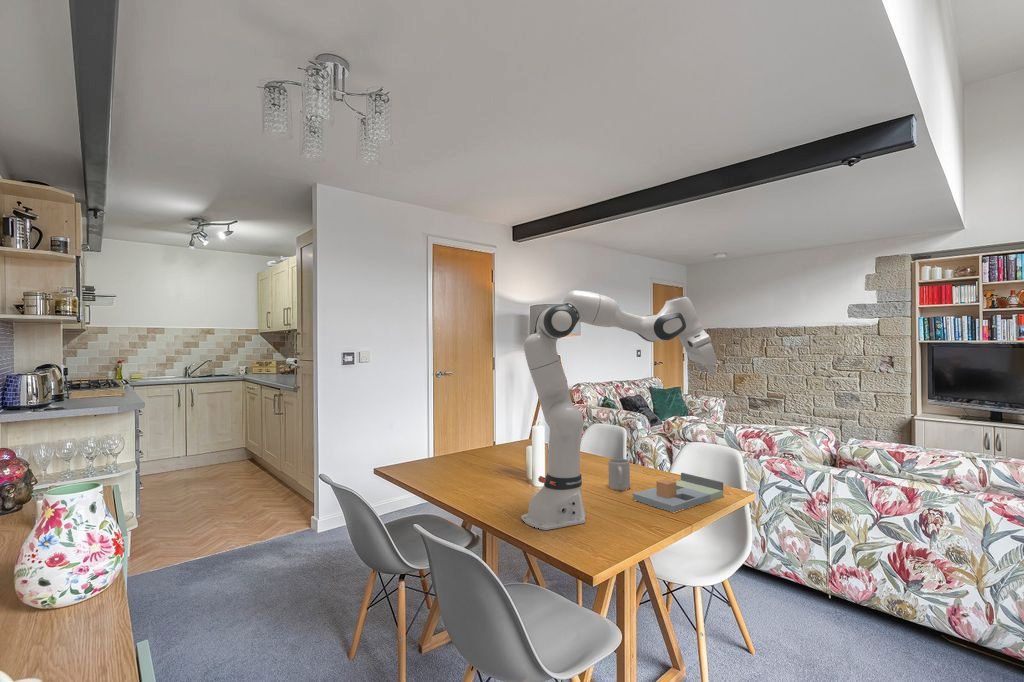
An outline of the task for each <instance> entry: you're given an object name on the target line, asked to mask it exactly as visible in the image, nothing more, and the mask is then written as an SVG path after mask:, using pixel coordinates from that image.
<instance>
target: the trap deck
mask: <svg viewBox="0 0 1024 682" xmlns="http://www.w3.org/2000/svg"><path fill="white" fill-rule="evenodd" d="M675 482H676V494H677V496H674V497H671V498H665V497H662V496H658V495H657V492H656V486H655V487H652V488H648V489H644V490H640V491H637V492H633V493H632V501H634V500H636V501H635V502H637V501H639V502H638V503H640V502H642V503H641V504H643V503H645V504H644V505H646V504H648V505H647V506H649V505H651V506H650V507H652V506H654V507H653V508H655V507H657V508H656V509H658V508H661V509H664V510H663V511H665V510H668V511H671V512H676V511H679V510H682V509H686V508H689V507H692V506H695V507H697V506H696V505H698V506H700V505H699V504H701V505H703V503H704V504H706V502H707V503H709V501H710V502H712V501H715V500H718V499H721V498H724V481H720V480H715V479H712V478H707V477H702V476H697V475H694V474H690V473H685V472H681V473H680V480H677V481H675ZM692 508H693V507H692ZM661 509H660V510H661ZM689 509H690V508H689ZM686 510H687V509H686ZM668 511H667V512H668ZM671 512H670V513H671Z"/></svg>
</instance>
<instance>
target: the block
mask: <svg viewBox="0 0 1024 682" xmlns="http://www.w3.org/2000/svg"><path fill="white" fill-rule="evenodd" d="M676 482H677V481H673V480H670V479H666V478H664V479H660V480H657V481H656V482H655V483H656V484H655V485H656V486H655V487H656V492H657V495H658V496H662V497H665V498H671V497H674V496H677V494H676Z"/></svg>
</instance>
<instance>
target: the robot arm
mask: <svg viewBox="0 0 1024 682" xmlns="http://www.w3.org/2000/svg"><path fill="white" fill-rule="evenodd" d="M535 321H536V322H535V327H534V332H533V333H532V334H530V335H529V336H528V337H526V338H525V341H524V342H523V348H524V350H523V351H524V356H525V361H526V363H527V366H528V370H529V373H530V375H531V376H530V377H531V379H532V381H533V384H534V387H535V390H536V394H537V397H538V400H539V401H538V402H539V404H540V408H541V410H542V414H543V418H544V420H545V423H546V424H547V426H548V427H549V435H548V436H549V437H548V447H547V473H546V475H545V476H541V475H540V476H538V477H537V481H538V482H539V483H541V484H543V486H542V487H541V488H540V490H538V492H536V493H535V495H534V496H532V498H531V499H530V500H529V501H528V508H527V513H524V514H522V515H521V516H520V519H522V520H523V521H524V522H525V523H524V522H523V521H522V520H521V521H522V522H523V523H524V524H526V525H527V526H530V527H532V528H534V527H535V529H538V528H539V529H538V530H542V531H543V530H544V531H548V530H553V529H561V528H565V527H570V526H571V527H572V526H574V525H575V526H576V525H581V524H585V523H586V517H587V514H586V512H585V508H584V503H583V502H584V501H583V496H582V488H581V487H582V485H583V482H582V480H583V479H582V473H581V444H582V436H583V428H584V423H585V422H584V417H583V413H582V411H581V410H580V409H579V408H578V407H577V406H575V404H573V400H572V398H571V395H570V390H569V385H568V380H567V377H566V374H565V370H564V368H563V365H562V362H561V359H560V356H559V354H558V352H557V341H558V339H562V338H565V337H567V336H569V335H570V334H571V333H572V332H573V331H574V329H575V327H576V325H577V324H578V323H584V324H588V325H591V326H597V327H603V328H611V327H612V328H613V327H614V328H618V329H622V330H626V331H628V332H633V333H634V334H637V335H638V336H639V337H640V338H641V339H643V340H644V341H646V342H650V343H653V342H666V341H667V342H668V341H670V340H673V339H674V338H676V337H678V339H679V341H680V344H681V346H682V347H683V348H684V350H685V352H686V355H687V357H688V359H689V360H690V361H693V362H694V363H695V364H696V366H697V368H698V369H699V371H700V372H701V373H703V372H705V371H707V373H708V374H709V376H715V375H716V374H717V373H716V372H715V367H714V365H715V364H717V362H718V359H717V355H716V353H715V350H714V347H713V344H712V342H711V341H712V338H711V336H710V334H708V333H707V332H706V331H705V330H704V327H703V325H702V324H701V322H700V321H699V317H698V313H697V311H696V308H695V307H694V304H693V302H692V301H691V299H690V298H689V297H688V296H685V295H680V296H676V297H672V298H669V299H667V300H665V303H664V305H663V307H662V308H661V309H660V311H659V312H658V313H657V314H650V315H644V316H643V315H641V316H640V315H636V314H634V313H631V312H627V311H624V310H622V309H620V306H619V304H618V302H617V300H616V299H614V298H612V297H609V296H607V295H604V294H600V293H596V292H593V291H589V290H588V291H587V290H578V289H577V290H576V289H575V290H571V291H568V293H567V294H566V295H565V297H564V298H563V302H562V304H558V305H554V306H550V307H547V308H545V309H544V310H543V311H540V313H539V314H538V316H537V318H536V320H535Z"/></svg>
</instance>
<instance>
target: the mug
mask: <svg viewBox="0 0 1024 682" xmlns="http://www.w3.org/2000/svg"><path fill="white" fill-rule="evenodd" d="M607 461H608V466H607V467H608V468H607V469H608V488H609V489H610V488H611V490H613V489H615V490H614V491H619V490H623V491H627V490H626V489H628V490H630V489H629V488H631V479H630V478H631V477H630V475H631V473H630V472H631V471H630V460H629V459H627V458H620V457H619V458H618V457H617V458H610V459H608V460H607Z"/></svg>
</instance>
